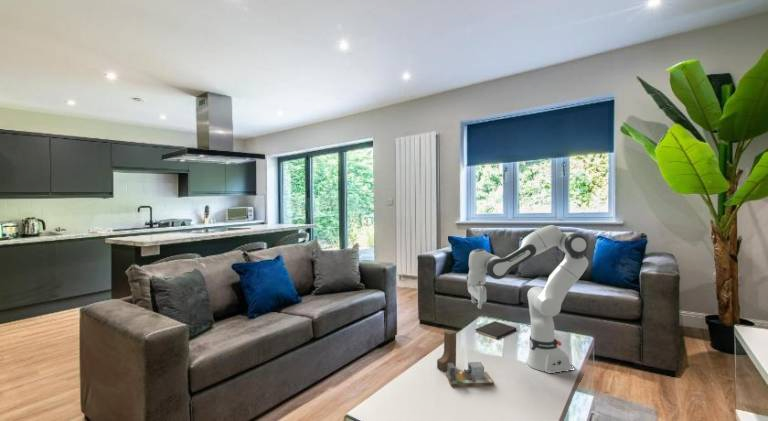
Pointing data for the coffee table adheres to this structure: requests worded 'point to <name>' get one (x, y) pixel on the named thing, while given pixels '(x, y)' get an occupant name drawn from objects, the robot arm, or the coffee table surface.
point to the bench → (466, 378)
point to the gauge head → (475, 371)
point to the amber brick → (460, 376)
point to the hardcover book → (495, 330)
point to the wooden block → (448, 351)
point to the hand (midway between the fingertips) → (476, 305)
